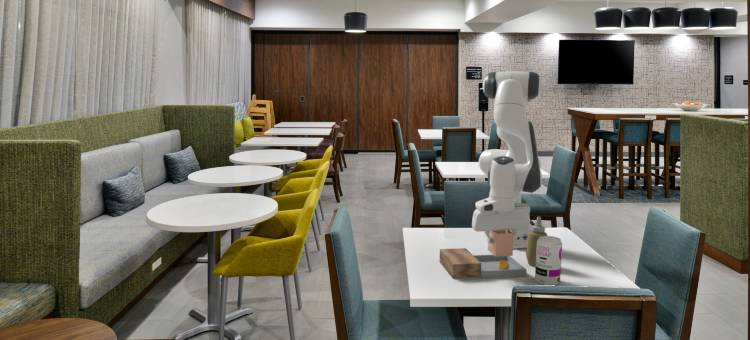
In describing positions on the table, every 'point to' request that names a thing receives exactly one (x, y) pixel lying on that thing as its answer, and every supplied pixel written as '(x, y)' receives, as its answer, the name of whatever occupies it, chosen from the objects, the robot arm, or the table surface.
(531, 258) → the squeeze bottle
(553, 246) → the supplement can
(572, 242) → the table surface
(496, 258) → the tray
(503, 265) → the ball
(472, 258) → the wooden block
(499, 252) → the sleeve
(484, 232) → the robot arm
